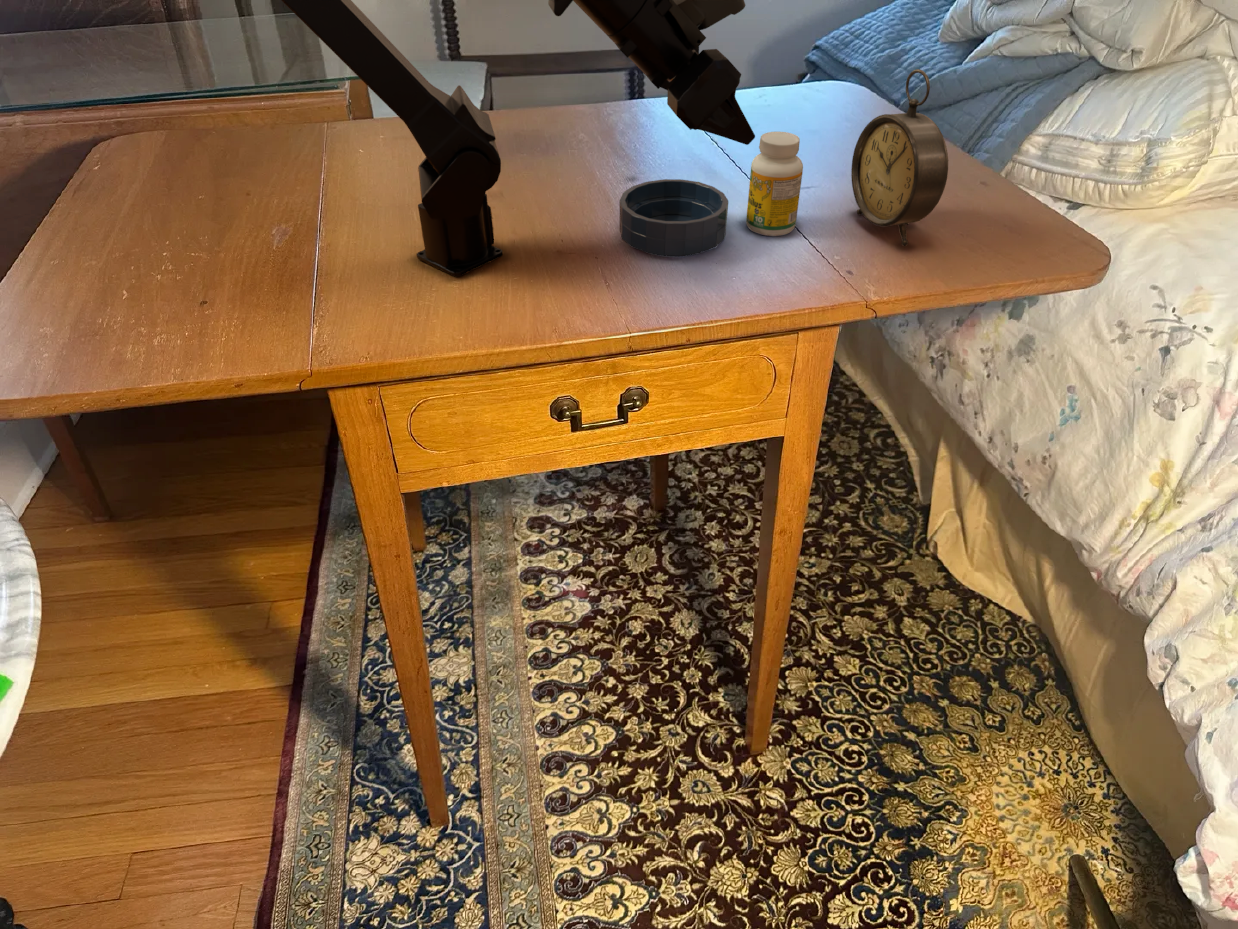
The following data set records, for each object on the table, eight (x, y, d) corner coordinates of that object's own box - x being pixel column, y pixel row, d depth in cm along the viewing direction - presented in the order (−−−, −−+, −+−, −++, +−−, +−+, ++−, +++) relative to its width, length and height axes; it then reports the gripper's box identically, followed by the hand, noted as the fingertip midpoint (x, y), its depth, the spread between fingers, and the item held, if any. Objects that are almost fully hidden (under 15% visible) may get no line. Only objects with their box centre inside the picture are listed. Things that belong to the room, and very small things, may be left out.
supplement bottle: (802, 234, 92) (814, 145, 86) (754, 239, 92) (763, 149, 85) (785, 214, 96) (796, 126, 90) (739, 218, 96) (747, 130, 89)
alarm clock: (840, 212, 97) (866, 57, 86) (881, 204, 98) (911, 52, 88) (896, 254, 89) (933, 89, 78) (940, 245, 90) (982, 83, 80)
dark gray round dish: (681, 271, 86) (683, 233, 84) (598, 238, 92) (597, 202, 89) (746, 233, 93) (749, 198, 90) (664, 205, 98) (665, 170, 96)
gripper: (725, -48, 67) (836, 88, 76) (665, -86, 81) (764, 34, 90) (627, 66, 71) (743, 183, 80) (586, 12, 85) (688, 117, 94)
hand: (736, 124), depth 86 cm, fingers open, 9 cm apart
